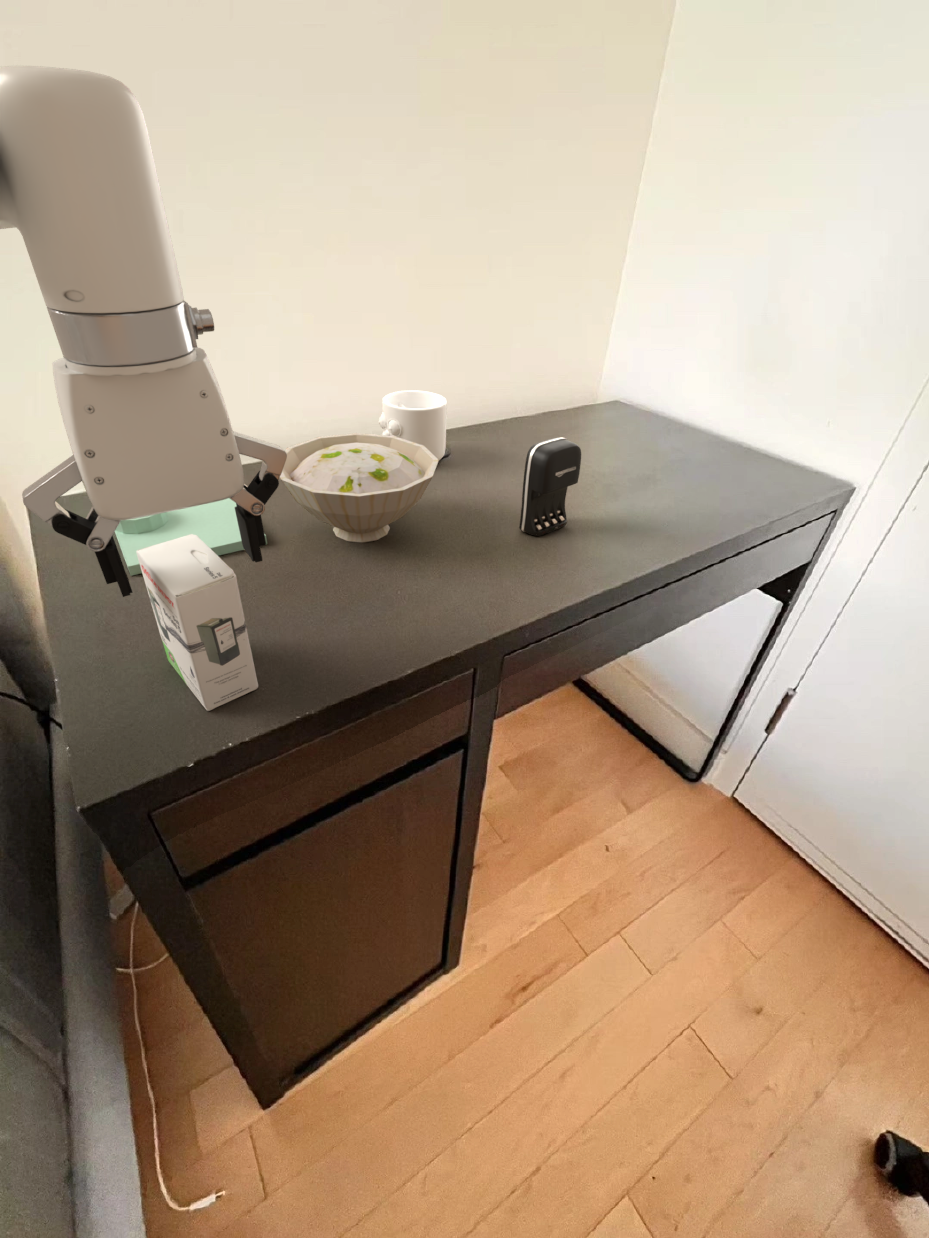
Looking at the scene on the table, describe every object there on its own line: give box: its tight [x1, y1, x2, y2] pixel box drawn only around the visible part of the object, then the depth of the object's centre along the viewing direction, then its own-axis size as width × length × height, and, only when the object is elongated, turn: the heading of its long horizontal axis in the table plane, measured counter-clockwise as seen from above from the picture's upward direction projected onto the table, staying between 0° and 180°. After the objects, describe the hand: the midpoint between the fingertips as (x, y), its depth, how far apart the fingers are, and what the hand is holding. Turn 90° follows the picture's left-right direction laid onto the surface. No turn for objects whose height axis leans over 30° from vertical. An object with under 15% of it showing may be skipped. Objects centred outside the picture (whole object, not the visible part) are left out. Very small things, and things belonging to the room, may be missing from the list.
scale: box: [114, 498, 268, 577], centre depth 73 cm, size 15×13×3 cm
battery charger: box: [518, 436, 582, 537], centre depth 76 cm, size 7×4×11 cm, turn 130°
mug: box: [378, 389, 448, 461], centre depth 95 cm, size 12×10×9 cm
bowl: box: [279, 432, 440, 543], centre depth 75 cm, size 19×19×10 cm
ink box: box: [136, 534, 259, 712], centre depth 51 cm, size 9×5×12 cm, turn 42°
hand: (191, 570), depth 48 cm, fingers open, 9 cm apart
